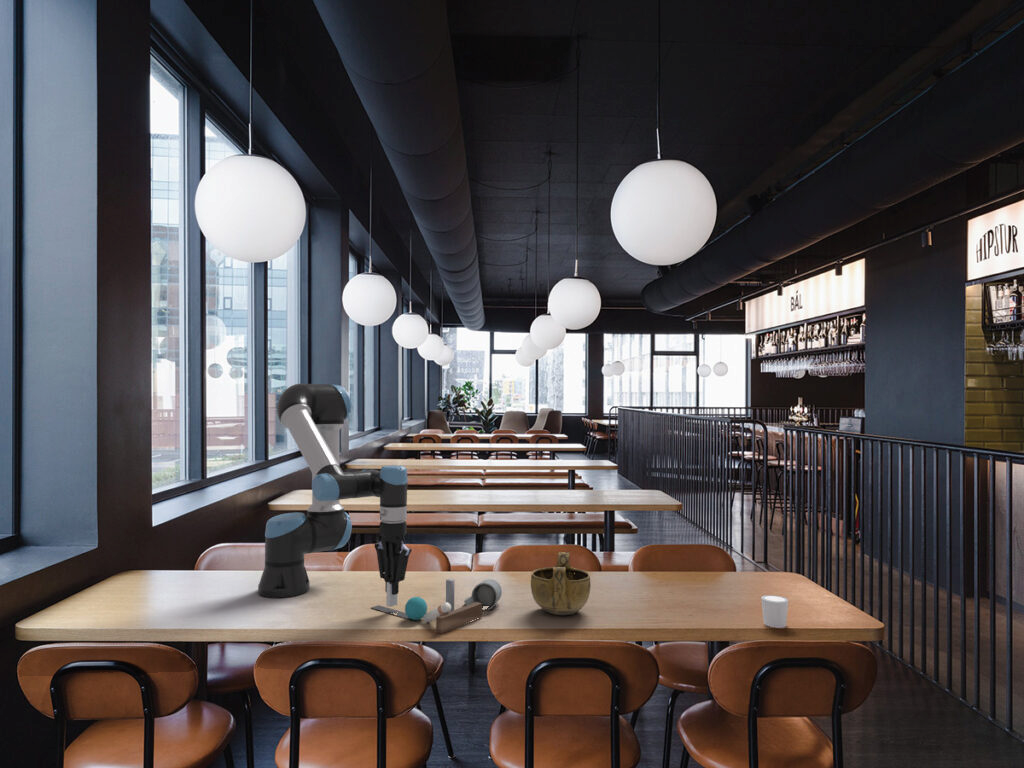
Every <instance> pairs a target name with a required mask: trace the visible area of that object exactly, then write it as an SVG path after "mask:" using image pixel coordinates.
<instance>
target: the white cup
mask: <svg viewBox="0 0 1024 768" xmlns="http://www.w3.org/2000/svg"><path fill="white" fill-rule="evenodd" d="M760 599H761V609H762V619H763V624H764V625H765V626H767V627H769V626H770V628H774V627H775V629H777V628H778V629H784V628H786V627H787V619H788V608H789V599H788V598H786V597H784V596H780V595H776V594H775V595H774V594H773V595H772V594H767V595H762V596H761V598H760Z"/></svg>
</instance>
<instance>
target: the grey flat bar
mask: <svg viewBox="0 0 1024 768" xmlns="http://www.w3.org/2000/svg"><path fill="white" fill-rule="evenodd" d="M371 608H373V610H375V609H377V610H376V611H378V610H380V611H379V612H381V611H383V612H382V613H385V612H387V613H386V614H388V613H390V614H389V615H391V613H392V614H393V613H395V614H396V613H397V612H398V613H397V616H396V617H398V616H400V617H399V618H402V617H404V618H403V619H405V618H407V619H406V620H408V619H410V618H409V617H408V616H407V615H406V613H405V611H400V610H396V609H393V608H389V607H388V606H383V605H378V604H377V605H375V606H372V607H370V609H371Z"/></svg>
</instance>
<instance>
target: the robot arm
mask: <svg viewBox="0 0 1024 768" xmlns="http://www.w3.org/2000/svg"><path fill="white" fill-rule="evenodd" d="M276 413H277V417H278V420H279V422H280V423H281V425H282V426H283V428H285V429H287V430H288V431H289V433H290V435H291V437H292V439H293V440H294V442H295V444H296V446H297V447H298V449H299V451H300V453H301V455H302V456H303V458H304V460H305V462H306V464H307V466H308V468H309V469H310V472H311V474H312V475H311V477H312V479H311V491H312V493H311V499H312V500H311V505H310V506H309V507H308V508H307V510H306V511H307V512H306V515H305V513H304V512H297V511H295V512H288V513H282V514H281V513H280V514H277V515H275V516H273V517H271V518H269V519H268V520H267V521H266V524H265V531H264V532H265V533H264V537H265V538H264V539H265V542H264V568H263V571H262V574H261V577H260V580H259V583H258V585H257V594H258V593H259V594H260V595H259V594H258V595H259V596H261V595H263V596H262V597H264V596H268V597H267V598H272V597H281V598H290V597H289V596H291V597H296V596H300V595H303V594H306V593H307V592H309V591H310V586H311V585H310V579H309V576H308V572H307V570H306V566H305V555H306V554H312V553H318V552H319V553H320V552H324V551H325V552H326V551H334V550H336V549H340V548H342V547H344V546H345V545H346V544H348V542H349V539H350V537H351V534H352V528H353V526H352V524H353V523H352V520H351V517H350V515H349V514H348V513H347V512H346V511H345V507H344V506H343V505H342V504H341V503H340V500H348V499H361V498H369V497H375V498H379V520H380V522H379V530H378V531H379V535H380V536H381V537H380V541H378V542H377V543H374V544H373V545H374V549H375V551H376V557H377V564H378V572H379V578H380V579H383V580H384V582H385V588H384V589H385V593H386V597H385V598H386V601H385V604H386V606H385V607H387V608H389V607H394V606H397V605H398V595H399V587H400V585H399V583H400V582H402V581H405V578H406V573H407V568H408V564H409V563H408V562H409V557H410V554H411V553H412V547H407V546H406V541H405V536H406V534H407V518H408V516H407V515H408V513H407V512H408V505H407V504H408V482H409V480H408V469H407V468H406V467H405V466H404V465H384V466H383V465H382V466H381V468H380V470H376V469H373V468H371V469H361V470H360V471H359V470H358V471H346V472H345V471H343V469H342V468H341V467H340V430H341V429H342V428H343V426H344V425H345V420H347V419H348V418H349V417H350V415H351V414H350V413H352V401H351V396H350V394H349V392H348V391H347V389H346V388H345V387H343V386H341V385H338V384H332V383H331V384H329V383H327V384H325V383H322V384H321V383H320V384H319V383H296V384H293V385H290V386H288V387H287V388H286V389H285V390H284V391H283V392H282V393H281V394H280V395H279V397H278V400H277V404H276ZM295 595H296V596H295Z"/></svg>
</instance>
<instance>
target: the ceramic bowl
mask: <svg viewBox="0 0 1024 768" xmlns="http://www.w3.org/2000/svg"><path fill="white" fill-rule="evenodd" d="M557 554H558V555H557V561H556V565H555V566H550V567H549V566H548V567H543V568H537V569H534V570H532V572H531V575H530V590H531V594H532V598H533V599H534V600H533V601H534V602H535V603H536V604H537V606H539V607H540V609H543V610H544V611H546V612H547V613H550V614H551V615H555V616H569V615H574V614H575V613H578V612H579V611H580V610H582V609H583V607H584V606H585V605H586V604H587V602H588V601H589V597H590V593H591V575H590V573H589V572H588V571H586V570H583V569H579V568H574V567H573V566H571V564H570V563H571V562H570V561H571V560H570V558H571V557H570V554H571V553H570V552H562V551H561V552H558V553H557Z"/></svg>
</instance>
